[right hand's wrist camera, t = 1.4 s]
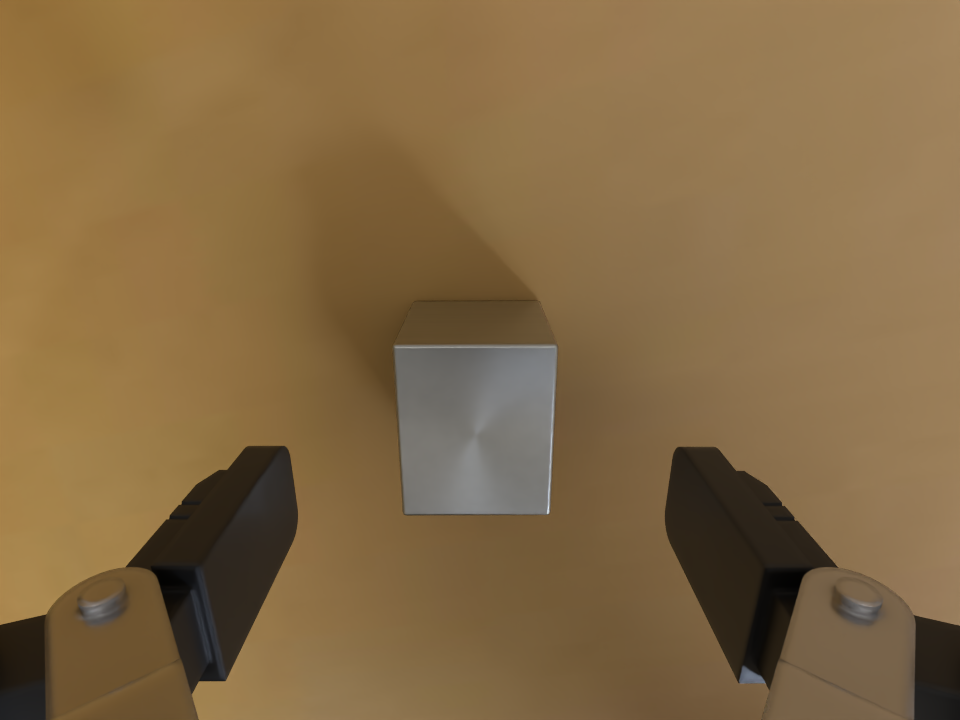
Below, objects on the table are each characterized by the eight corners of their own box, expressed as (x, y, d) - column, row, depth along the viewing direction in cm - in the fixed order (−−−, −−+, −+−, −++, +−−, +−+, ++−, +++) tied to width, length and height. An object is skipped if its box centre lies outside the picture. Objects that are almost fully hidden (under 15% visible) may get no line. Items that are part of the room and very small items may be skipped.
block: (540, 300, 17) (559, 344, 13) (535, 438, 19) (550, 516, 15) (412, 300, 17) (391, 344, 13) (419, 439, 19) (402, 516, 15)
